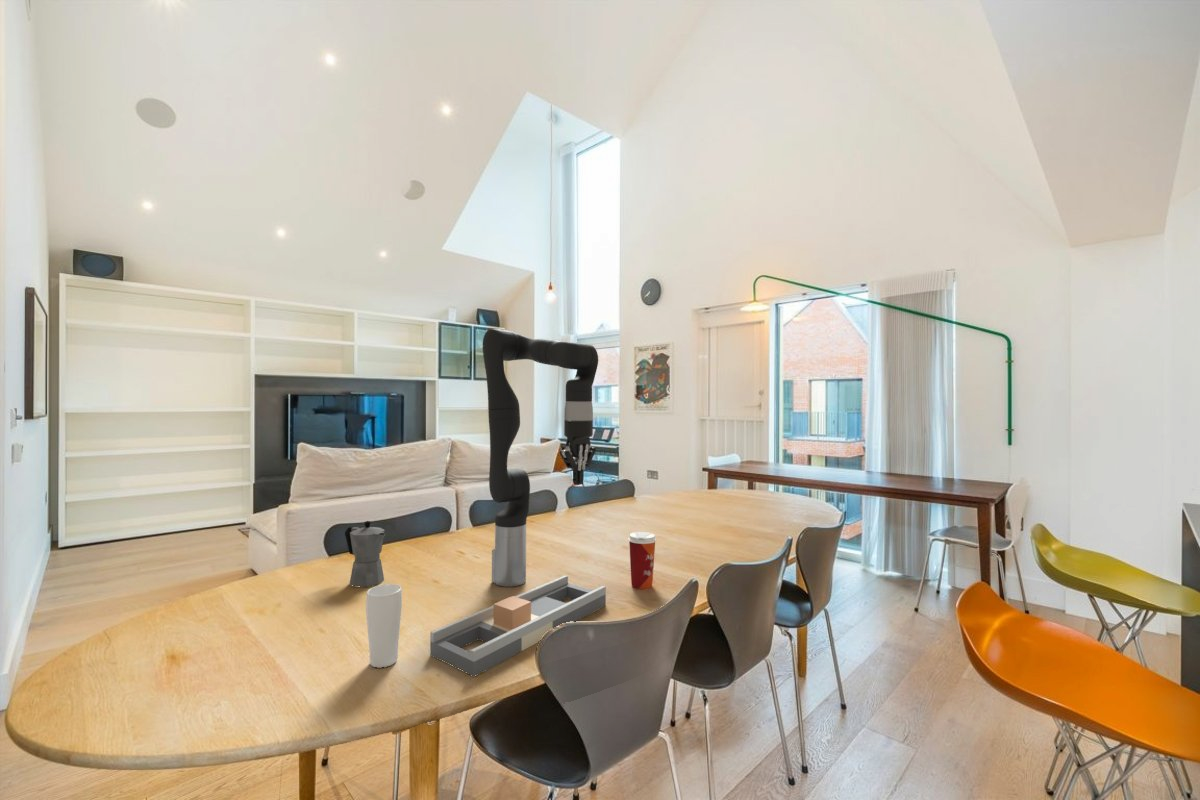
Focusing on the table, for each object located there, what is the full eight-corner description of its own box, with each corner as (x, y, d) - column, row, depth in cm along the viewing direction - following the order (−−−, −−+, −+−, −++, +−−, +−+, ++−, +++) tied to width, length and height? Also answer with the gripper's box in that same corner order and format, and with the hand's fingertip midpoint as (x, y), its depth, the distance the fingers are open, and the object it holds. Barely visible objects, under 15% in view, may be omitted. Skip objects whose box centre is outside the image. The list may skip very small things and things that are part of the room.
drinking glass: (391, 651, 110) (391, 581, 110) (407, 661, 106) (408, 589, 106) (359, 663, 105) (360, 590, 105) (376, 674, 101) (376, 598, 101)
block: (512, 614, 122) (512, 595, 122) (530, 621, 119) (531, 601, 119) (493, 623, 117) (493, 604, 117) (512, 630, 114) (512, 610, 114)
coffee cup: (654, 592, 145) (655, 539, 145) (625, 590, 147) (626, 537, 147) (657, 582, 153) (657, 532, 153) (629, 580, 155) (630, 530, 155)
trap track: (565, 593, 144) (565, 575, 144) (605, 605, 136) (605, 586, 136) (430, 655, 109) (430, 631, 109) (473, 677, 100) (474, 651, 100)
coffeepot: (396, 580, 153) (396, 520, 153) (370, 591, 144) (371, 527, 144) (358, 572, 159) (358, 514, 159) (331, 582, 150) (332, 521, 150)
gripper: (583, 417, 143) (582, 479, 143) (551, 419, 132) (550, 486, 132) (604, 418, 139) (604, 482, 139) (573, 419, 128) (573, 489, 128)
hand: (578, 484), depth 136 cm, fingers closed
